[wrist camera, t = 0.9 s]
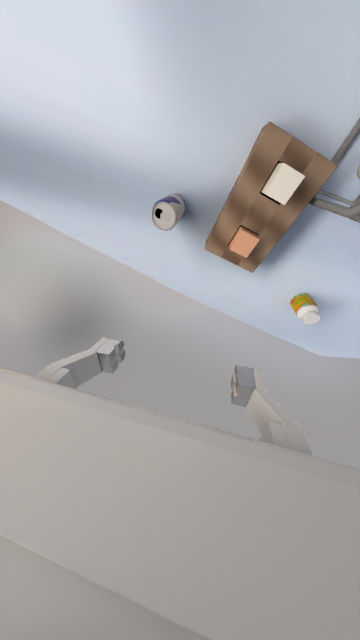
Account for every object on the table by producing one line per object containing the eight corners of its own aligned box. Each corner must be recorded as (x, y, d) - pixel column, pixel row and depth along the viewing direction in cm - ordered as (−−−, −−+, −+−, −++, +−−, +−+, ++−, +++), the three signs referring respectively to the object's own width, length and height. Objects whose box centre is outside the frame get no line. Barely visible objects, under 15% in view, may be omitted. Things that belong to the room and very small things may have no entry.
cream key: (277, 163, 30) (283, 162, 27) (297, 175, 30) (305, 176, 28) (260, 191, 33) (264, 193, 30) (278, 202, 33) (284, 205, 31)
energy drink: (169, 188, 39) (155, 194, 30) (189, 201, 40) (181, 209, 31) (161, 212, 42) (147, 223, 34) (179, 223, 43) (170, 236, 35)
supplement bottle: (304, 289, 50) (318, 308, 43) (313, 299, 52) (328, 320, 45) (286, 299, 53) (296, 319, 46) (295, 308, 55) (306, 329, 48)
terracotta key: (240, 225, 37) (242, 230, 34) (256, 234, 38) (259, 239, 35) (229, 243, 40) (230, 249, 37) (244, 251, 41) (246, 258, 38)
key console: (262, 128, 31) (269, 121, 26) (321, 166, 33) (338, 166, 28) (206, 241, 45) (205, 249, 41) (249, 263, 47) (252, 272, 43)
